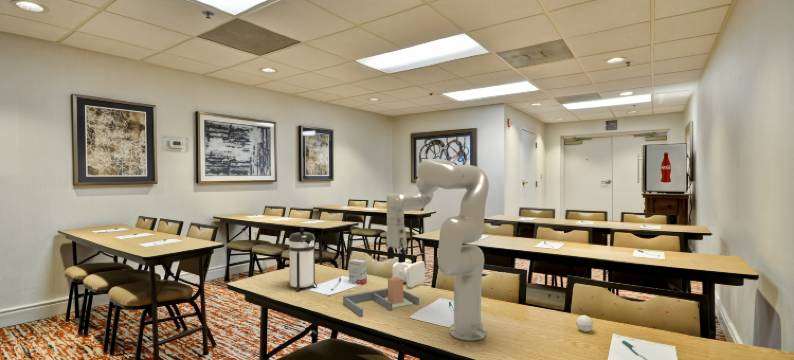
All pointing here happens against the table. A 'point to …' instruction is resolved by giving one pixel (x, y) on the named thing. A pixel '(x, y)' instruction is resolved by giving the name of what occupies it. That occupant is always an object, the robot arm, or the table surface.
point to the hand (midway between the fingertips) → (396, 260)
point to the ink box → (358, 271)
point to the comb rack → (377, 300)
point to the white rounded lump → (584, 323)
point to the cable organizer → (410, 272)
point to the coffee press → (302, 260)
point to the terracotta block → (395, 290)
